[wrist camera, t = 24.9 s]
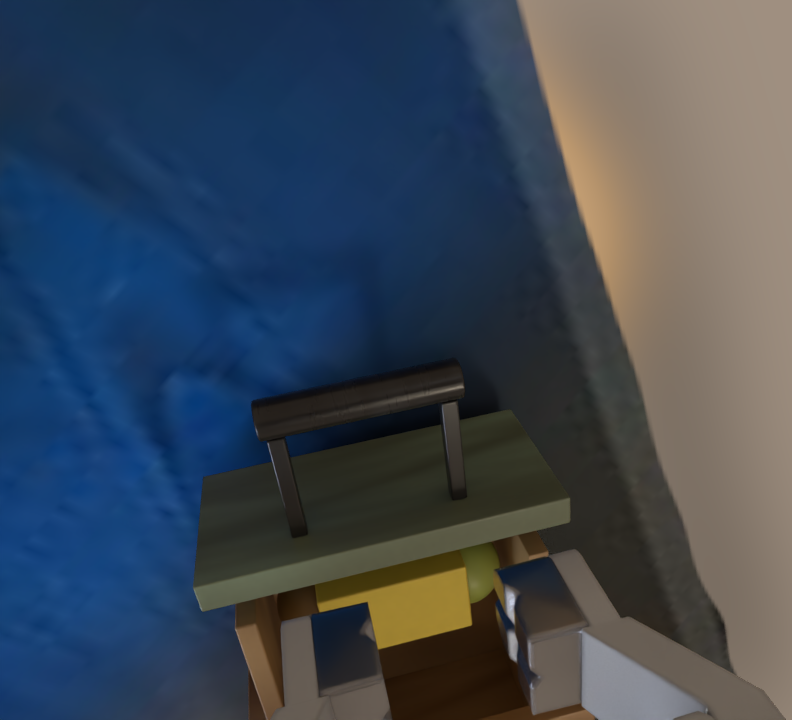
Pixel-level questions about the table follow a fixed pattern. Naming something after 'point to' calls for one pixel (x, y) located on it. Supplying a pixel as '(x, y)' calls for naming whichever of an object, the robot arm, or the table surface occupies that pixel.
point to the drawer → (379, 528)
